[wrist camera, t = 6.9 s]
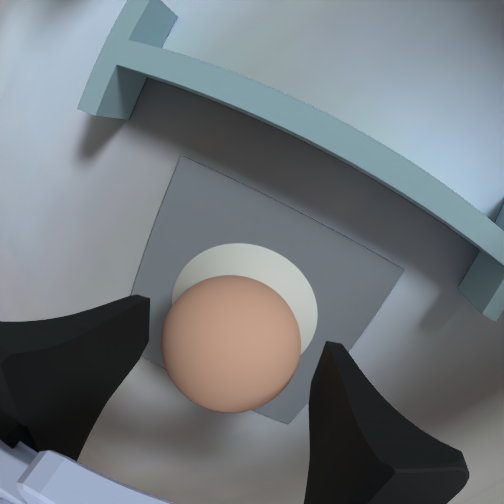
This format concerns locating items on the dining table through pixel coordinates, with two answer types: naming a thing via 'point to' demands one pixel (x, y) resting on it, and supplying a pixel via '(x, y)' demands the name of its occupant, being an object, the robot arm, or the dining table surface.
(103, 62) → the divider wall
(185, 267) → the resting mat
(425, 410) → the dining table surface
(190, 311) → the ball
